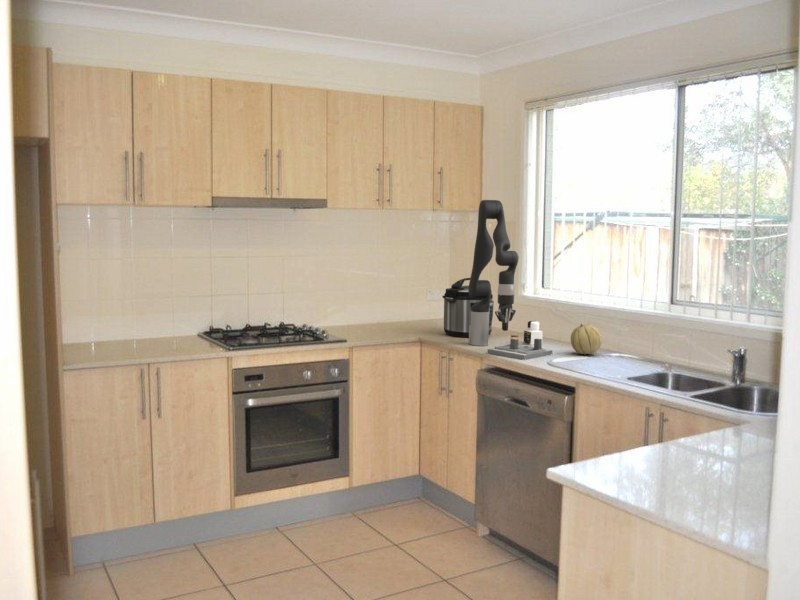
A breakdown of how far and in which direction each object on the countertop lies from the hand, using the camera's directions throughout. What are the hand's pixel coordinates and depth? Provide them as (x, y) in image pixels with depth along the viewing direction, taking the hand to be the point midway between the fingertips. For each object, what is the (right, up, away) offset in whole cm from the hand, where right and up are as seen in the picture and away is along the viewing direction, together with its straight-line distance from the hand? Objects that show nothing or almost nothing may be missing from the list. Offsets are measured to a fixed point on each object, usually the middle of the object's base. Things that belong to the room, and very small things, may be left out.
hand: (504, 330), depth 353 cm
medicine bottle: (+20, -9, +40) cm, 45 cm away
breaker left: (+7, -9, +18) cm, 21 cm away
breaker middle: (+5, -10, +6) cm, 13 cm away
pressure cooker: (-11, -5, +68) cm, 69 cm away
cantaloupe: (+40, -12, +11) cm, 44 cm away
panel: (+9, -12, +10) cm, 17 cm away
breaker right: (+17, -10, +7) cm, 21 cm away
